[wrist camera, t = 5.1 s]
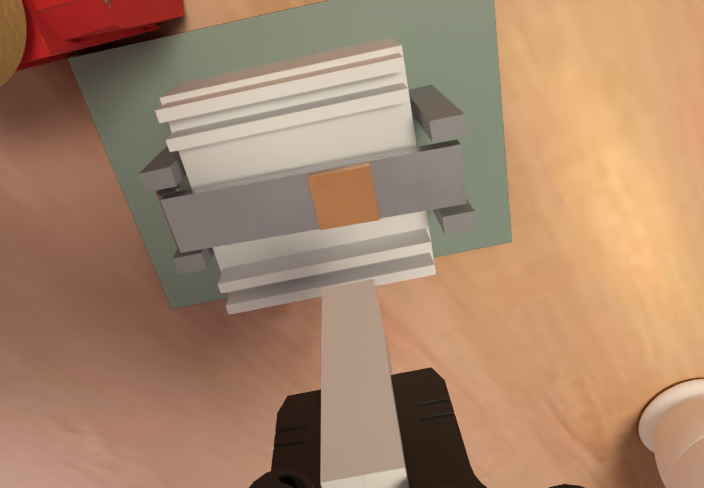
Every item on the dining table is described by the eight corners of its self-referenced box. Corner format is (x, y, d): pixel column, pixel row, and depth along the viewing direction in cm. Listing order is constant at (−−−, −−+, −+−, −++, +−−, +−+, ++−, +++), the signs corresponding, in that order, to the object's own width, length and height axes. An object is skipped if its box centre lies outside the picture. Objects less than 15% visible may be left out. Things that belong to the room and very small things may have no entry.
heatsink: (175, 300, 38) (132, 388, 30) (76, 56, 31) (-19, 81, 22) (506, 234, 37) (560, 307, 28) (485, -35, 30) (549, -46, 21)
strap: (182, 242, 29) (168, 261, 27) (160, 185, 28) (144, 201, 26) (461, 194, 27) (468, 210, 25) (454, 130, 26) (461, 142, 24)
